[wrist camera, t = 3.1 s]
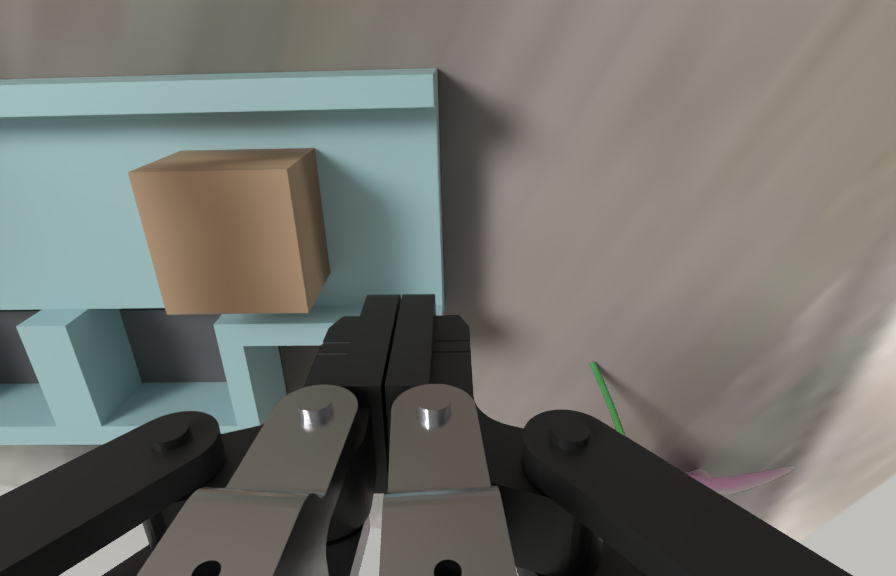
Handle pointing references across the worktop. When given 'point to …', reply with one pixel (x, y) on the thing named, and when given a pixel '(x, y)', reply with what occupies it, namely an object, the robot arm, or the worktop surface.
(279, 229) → the walnut block
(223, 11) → the worktop surface
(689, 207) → the worktop surface
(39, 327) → the box
